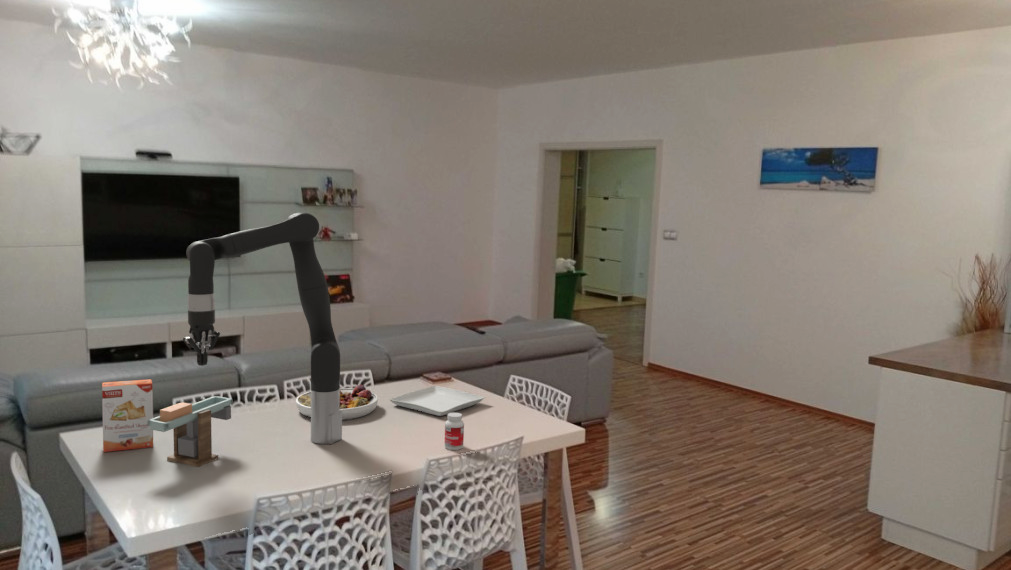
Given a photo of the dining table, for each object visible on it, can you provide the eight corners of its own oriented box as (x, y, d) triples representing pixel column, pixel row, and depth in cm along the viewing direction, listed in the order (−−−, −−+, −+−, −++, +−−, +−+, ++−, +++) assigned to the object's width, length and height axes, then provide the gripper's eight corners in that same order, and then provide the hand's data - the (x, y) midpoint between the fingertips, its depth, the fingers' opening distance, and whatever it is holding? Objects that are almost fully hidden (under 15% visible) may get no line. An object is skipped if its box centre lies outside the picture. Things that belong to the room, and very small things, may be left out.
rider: (192, 417, 218) (191, 404, 217) (171, 425, 210) (170, 411, 210) (182, 415, 219) (181, 402, 219) (160, 423, 212) (159, 409, 211)
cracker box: (103, 453, 224) (101, 386, 222) (103, 447, 230) (101, 381, 227) (154, 447, 231) (152, 382, 228) (153, 441, 236) (151, 378, 234)
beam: (233, 440, 233) (232, 398, 231) (168, 469, 209) (166, 423, 207) (216, 436, 235) (214, 395, 233) (149, 465, 211) (147, 420, 209)
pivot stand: (218, 458, 223) (217, 408, 222) (198, 466, 216) (197, 415, 214) (187, 452, 228) (187, 403, 226) (167, 460, 220) (166, 409, 219)
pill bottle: (441, 448, 239) (441, 415, 237) (449, 443, 244) (450, 410, 243) (458, 451, 236) (459, 418, 235) (466, 446, 242) (467, 413, 241)
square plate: (434, 393, 307) (434, 384, 307) (486, 405, 291) (486, 396, 291) (388, 406, 285) (388, 397, 285) (441, 421, 269) (441, 410, 269)
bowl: (337, 428, 257) (337, 406, 256) (278, 413, 272) (278, 392, 271) (394, 409, 282) (394, 389, 281) (337, 396, 298) (337, 377, 297)
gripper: (194, 312, 213) (195, 370, 215) (227, 306, 225) (227, 362, 227) (174, 310, 216) (175, 368, 218) (208, 304, 228) (209, 359, 230)
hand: (202, 364), depth 223 cm, fingers closed
